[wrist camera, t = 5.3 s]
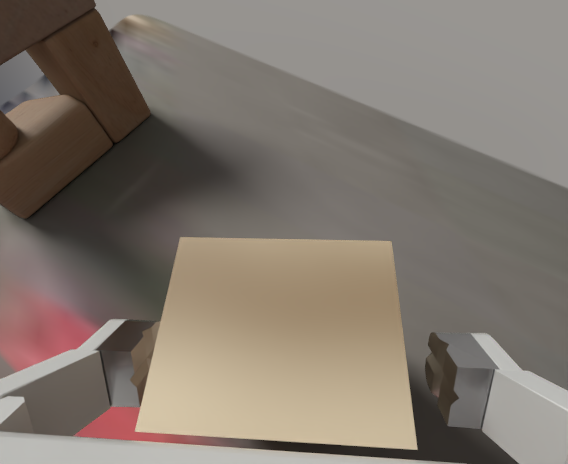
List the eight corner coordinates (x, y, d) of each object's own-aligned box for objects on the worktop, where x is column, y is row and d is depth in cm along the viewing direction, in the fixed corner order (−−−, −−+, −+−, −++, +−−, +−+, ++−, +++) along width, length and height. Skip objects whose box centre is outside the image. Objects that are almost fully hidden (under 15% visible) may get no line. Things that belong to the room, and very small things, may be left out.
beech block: (350, 425, 13) (417, 449, 5) (232, 418, 14) (135, 431, 6) (346, 327, 15) (391, 241, 7) (242, 323, 16) (180, 237, 8)
